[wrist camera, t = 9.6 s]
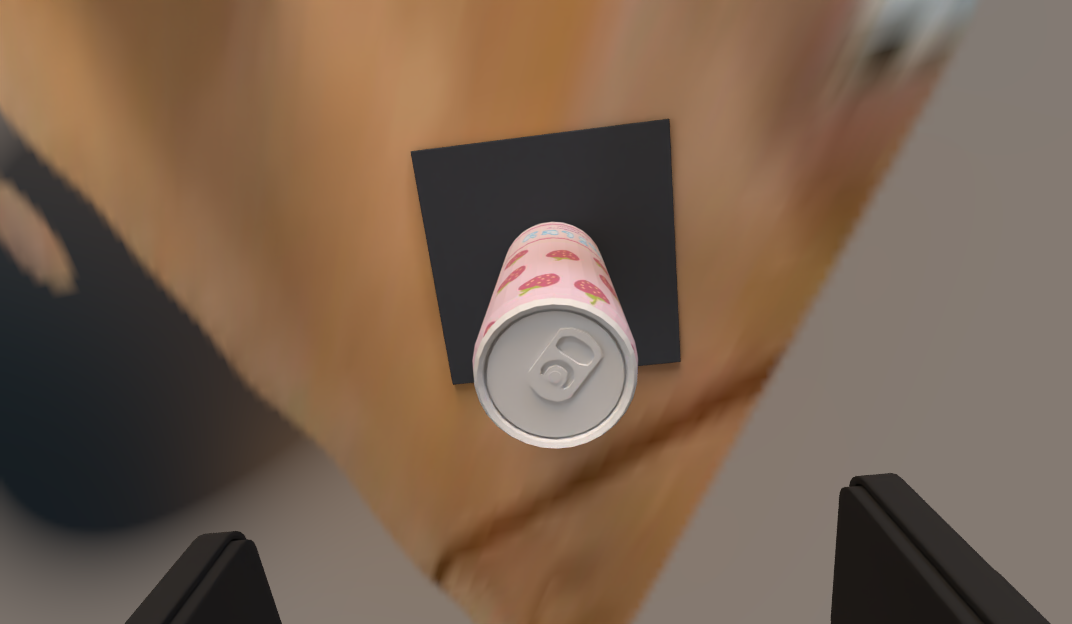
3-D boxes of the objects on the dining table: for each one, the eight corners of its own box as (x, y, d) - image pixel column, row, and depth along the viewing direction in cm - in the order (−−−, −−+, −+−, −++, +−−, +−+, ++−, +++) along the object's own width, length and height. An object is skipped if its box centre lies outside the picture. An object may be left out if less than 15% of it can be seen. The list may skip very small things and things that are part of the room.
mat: (411, 151, 31) (410, 151, 31) (668, 118, 30) (669, 118, 30) (453, 382, 35) (452, 385, 35) (679, 360, 34) (680, 361, 34)
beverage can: (611, 229, 32) (661, 309, 17) (592, 323, 33) (624, 468, 19) (511, 213, 31) (478, 281, 17) (498, 309, 33) (458, 443, 19)
